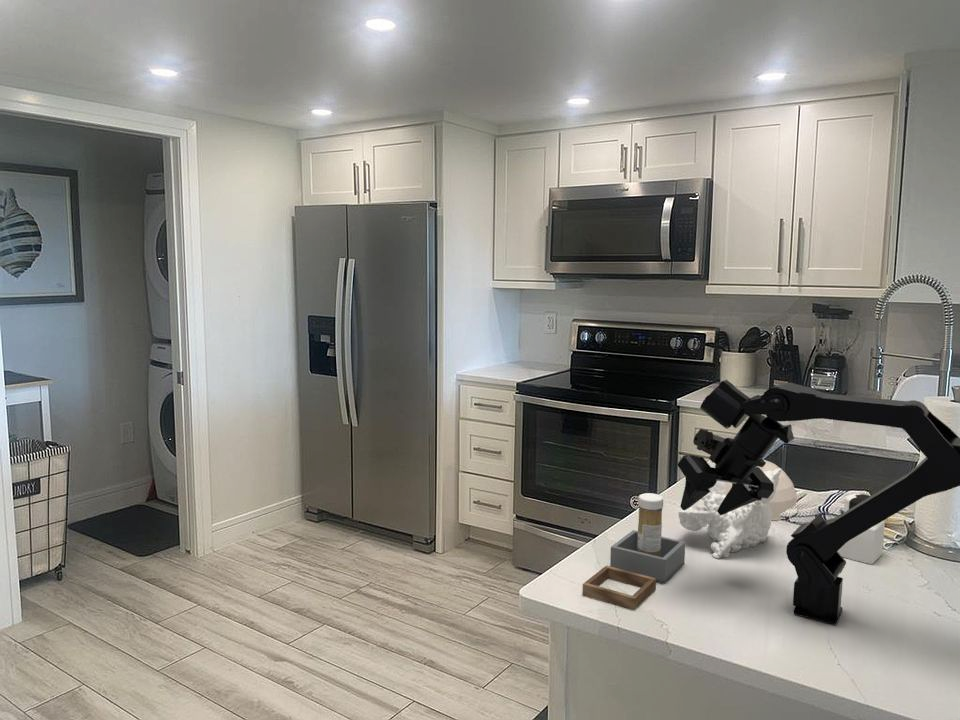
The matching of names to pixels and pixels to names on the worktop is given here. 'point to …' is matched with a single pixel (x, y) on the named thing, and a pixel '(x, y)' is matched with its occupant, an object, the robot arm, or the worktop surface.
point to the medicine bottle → (863, 537)
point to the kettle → (777, 492)
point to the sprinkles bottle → (650, 523)
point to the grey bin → (648, 557)
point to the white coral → (731, 520)
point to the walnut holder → (619, 598)
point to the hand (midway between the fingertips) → (701, 511)
